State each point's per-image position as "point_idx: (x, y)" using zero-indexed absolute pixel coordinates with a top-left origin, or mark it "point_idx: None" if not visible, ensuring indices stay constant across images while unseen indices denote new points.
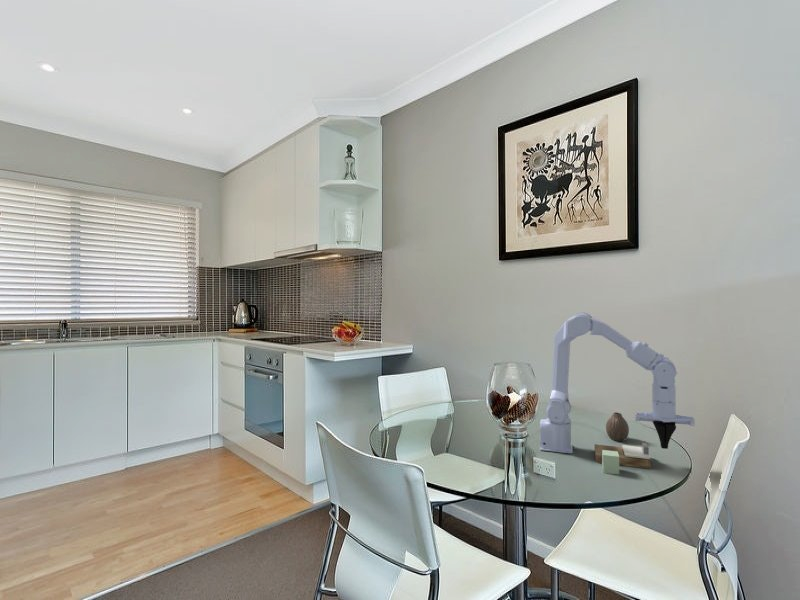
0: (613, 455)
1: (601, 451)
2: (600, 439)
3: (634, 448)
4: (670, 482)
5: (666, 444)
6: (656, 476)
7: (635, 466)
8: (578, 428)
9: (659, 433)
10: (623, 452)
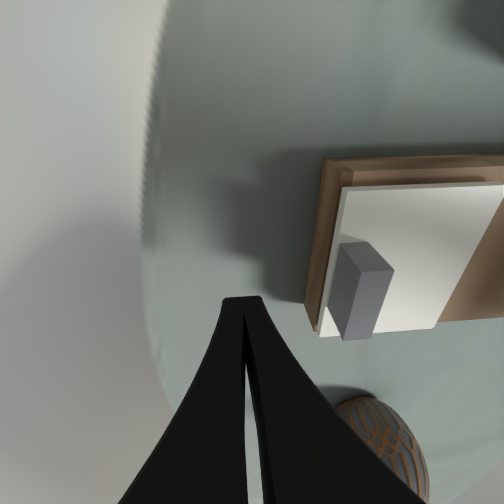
0: None
1: None
2: (416, 390)
3: (387, 307)
4: None
5: (231, 319)
6: (322, 10)
7: (403, 156)
8: (444, 432)
9: (328, 417)
10: None
